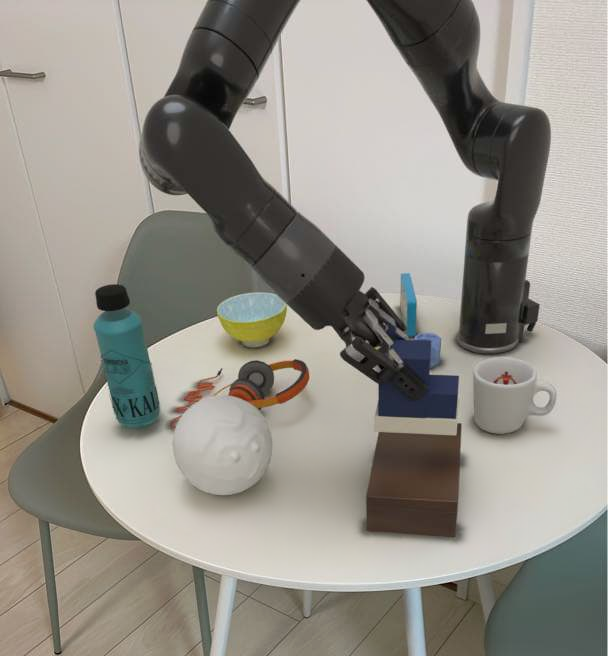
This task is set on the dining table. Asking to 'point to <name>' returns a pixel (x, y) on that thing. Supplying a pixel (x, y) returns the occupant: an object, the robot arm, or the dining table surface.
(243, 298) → the bowl
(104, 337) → the beverage bottle
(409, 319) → the blue rectangular panel
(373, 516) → the brown platform
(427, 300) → the dining table surface
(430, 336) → the decorative dice
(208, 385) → the headphones
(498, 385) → the cup
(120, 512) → the dining table surface
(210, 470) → the decorative ball
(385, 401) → the navy blue block
